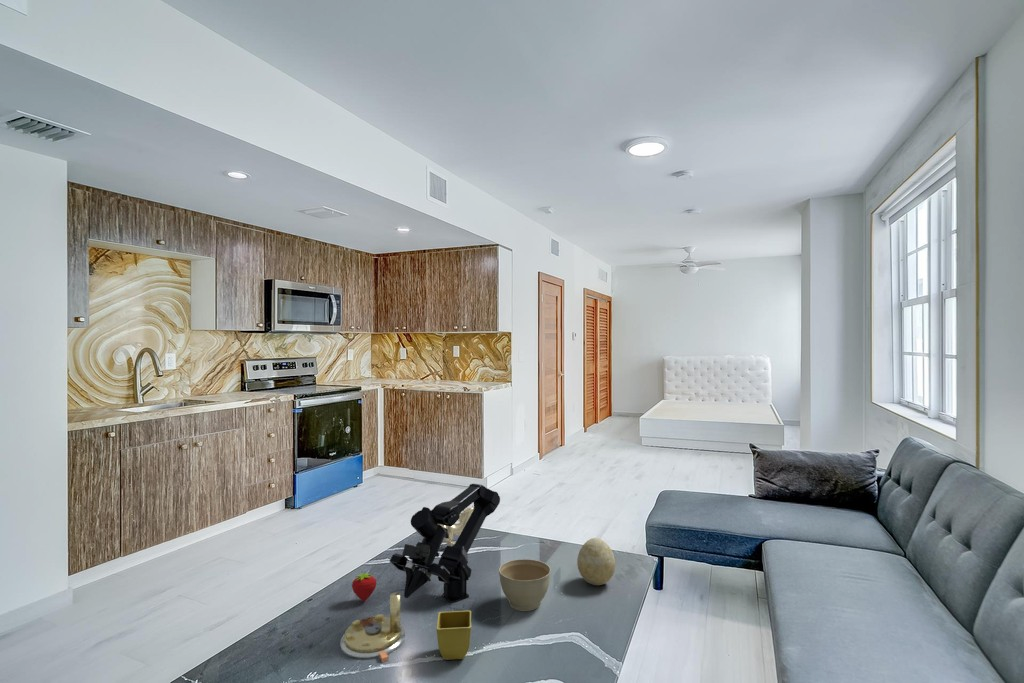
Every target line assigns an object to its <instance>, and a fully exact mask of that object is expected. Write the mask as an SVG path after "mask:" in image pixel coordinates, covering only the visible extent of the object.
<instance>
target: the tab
mask: <svg viewBox="0 0 1024 683" xmlns="http://www.w3.org/2000/svg"><path fill="white" fill-rule="evenodd" d="M378 658H379V659H380V661H381V663H384V662H388V661H389V655H388V654H387V653H386V651H382V652H379V657H378Z"/></svg>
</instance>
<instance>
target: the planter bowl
mask: <svg viewBox="0 0 1024 683" xmlns="http://www.w3.org/2000/svg"><path fill="white" fill-rule="evenodd" d="M551 572H552V569H551V567H550V565H549V564H547V563H545V562H543V561H540V560H538V559H537V560H536V559H532V558H531V559H529V558H522V559H521V558H519V559H512V560H509V561H506V562H504V563H502V564H501V565H500V567H499V569H498V574H499V581H500V587H501V590H502V592H503V594H504V596H505V598H506V600H508V603H509V606H510V607H511V608H512V609H514V610H516V611H520V612H530V611H533V610H536V609H538V608H539V607H540V606H541V602H542V601H543V599H544V597H545V596H546V594H547V592H548V589H549V586H550V581H551V580H550V579H551Z"/></svg>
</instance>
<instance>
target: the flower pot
mask: <svg viewBox="0 0 1024 683" xmlns="http://www.w3.org/2000/svg"><path fill="white" fill-rule="evenodd" d="M471 633H472V610H454V611H453V610H452V611H451V610H450V611H439V612H438V613H437V622H436V638H437V646H438V647H437V648H438V651H439V653H440V654H441V656H442V659H444V660H445V661H446V660H464V659H465V657H466V656H467V655H468V653H469V649H470V644H471V635H472V634H471Z"/></svg>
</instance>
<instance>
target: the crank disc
mask: <svg viewBox="0 0 1024 683" xmlns="http://www.w3.org/2000/svg"><path fill="white" fill-rule="evenodd" d="M401 595H402V594H401V593H400V592H392V593H391V594H390V595H389V616H385V615H384V614H383V613H382V614H376V615H375V616H370V617H366V618H363V619H360V620H359V619H356V620H354V621H353V622H351V625H350V626H349V627H347V628H346V630H345V631H344V634H343V635H344V643H345V646H346V647H347V648H348V649H349V650H351V651H354V652H358V653H373V652H378V651H382V650H384V649H387V648H389V647H391V646H392V645H394V644H395V643H396V642H397V641H398V640H399V639H400V637H401V626H402V624H401V608H402V606H401V600H402V599H401V598H402V596H401ZM370 623H380V624H381V625H382V630H381V631H380V632H379V633H377V634H366V633H365V627H366V626H367V625H368V624H370Z"/></svg>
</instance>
